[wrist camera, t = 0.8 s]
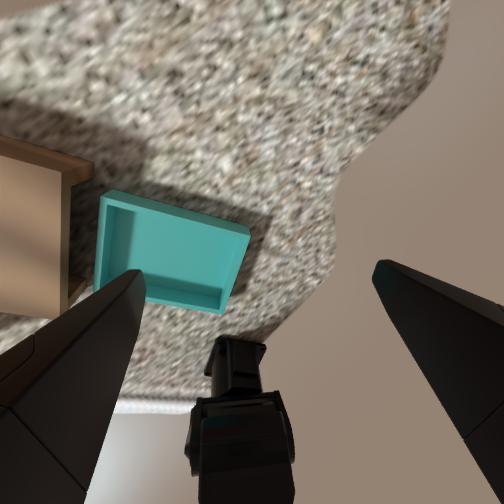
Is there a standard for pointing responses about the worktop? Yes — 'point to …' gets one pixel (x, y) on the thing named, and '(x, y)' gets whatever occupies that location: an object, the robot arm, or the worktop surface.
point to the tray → (169, 251)
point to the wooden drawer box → (37, 229)
